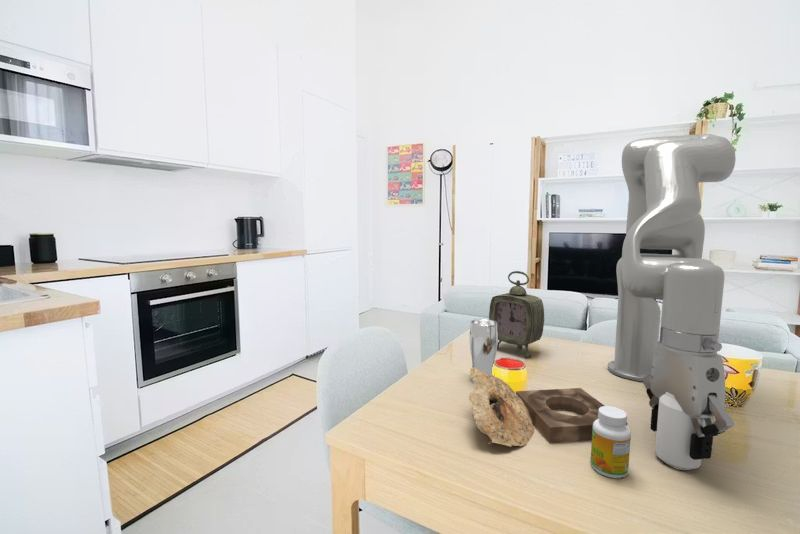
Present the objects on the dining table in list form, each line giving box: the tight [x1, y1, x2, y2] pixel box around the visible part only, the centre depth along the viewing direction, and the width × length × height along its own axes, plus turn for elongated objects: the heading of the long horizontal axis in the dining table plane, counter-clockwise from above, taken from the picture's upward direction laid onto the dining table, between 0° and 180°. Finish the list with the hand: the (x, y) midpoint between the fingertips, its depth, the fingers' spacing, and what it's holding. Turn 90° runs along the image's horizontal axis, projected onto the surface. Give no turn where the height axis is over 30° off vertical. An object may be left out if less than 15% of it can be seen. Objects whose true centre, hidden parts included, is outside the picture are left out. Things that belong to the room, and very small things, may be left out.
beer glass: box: [469, 318, 499, 383], centre depth 96 cm, size 7×7×15 cm
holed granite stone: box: [468, 367, 535, 448], centre depth 76 cm, size 18×14×8 cm
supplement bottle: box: [590, 405, 632, 479], centre depth 62 cm, size 5×5×10 cm
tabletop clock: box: [488, 270, 545, 358], centre depth 117 cm, size 14×9×25 cm, turn 43°
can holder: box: [515, 387, 628, 444], centre depth 77 cm, size 15×15×3 cm
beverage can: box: [654, 392, 706, 471], centre depth 63 cm, size 6×6×12 cm
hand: (678, 442), depth 64 cm, fingers open, 7 cm apart
